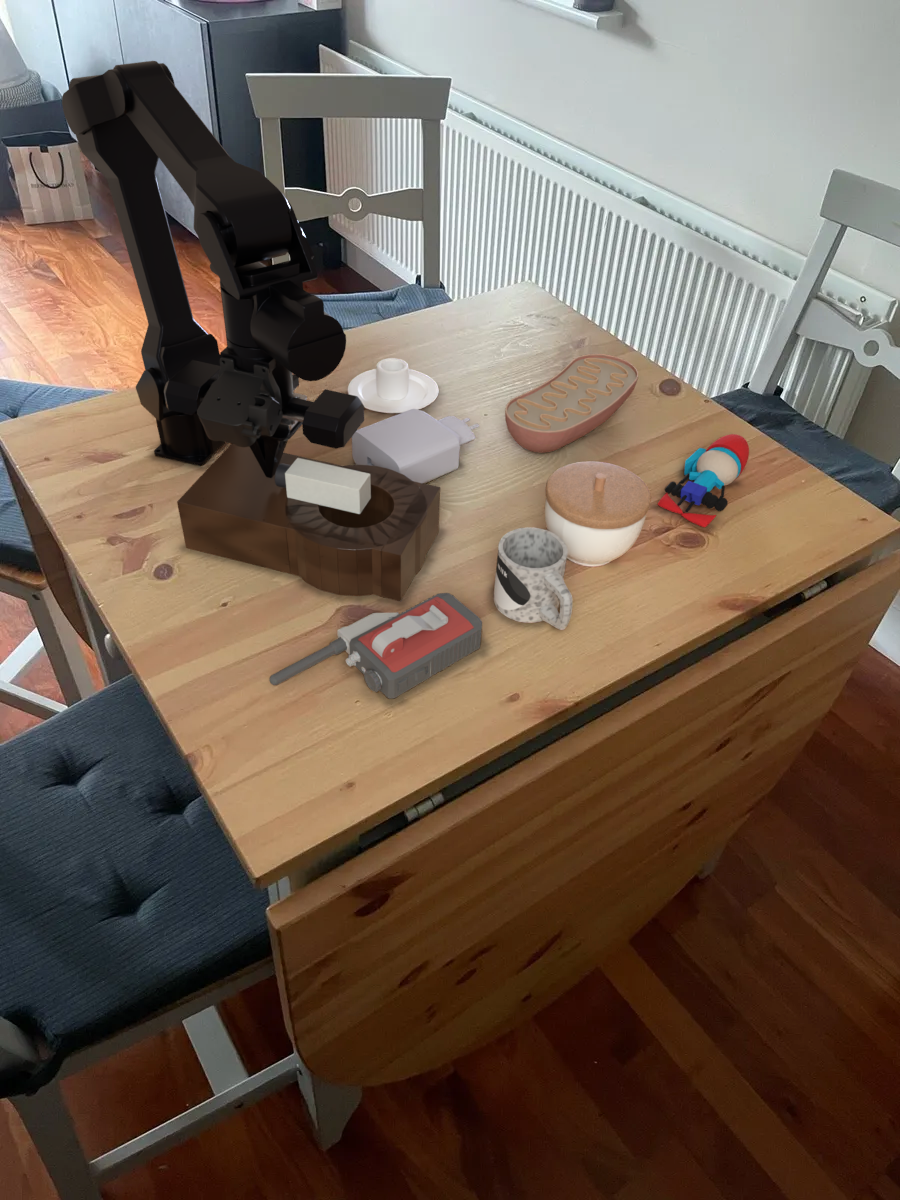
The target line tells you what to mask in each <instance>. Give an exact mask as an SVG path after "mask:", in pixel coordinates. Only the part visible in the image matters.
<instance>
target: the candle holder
mask: <svg viewBox="0 0 900 1200" xmlns="http://www.w3.org/2000/svg"><path fill="white" fill-rule="evenodd" d="M375 367H376V368H373V369H369V370H366V371H364V372H361V373H359V374H357V375H356V376H354V377H353V378H352V379H351V380H350V382H349V383H348V385H347V394H349V395H354V396H357V397H358V398H359V399H360V400H361V401H362V403H363V405H364V409H367V410H370V411H373V412H379V413H384V414H386V413H387V414H400V413H403V412H406V411H408V410H411V409H417V410H421V409H424V408H426V407H428V406H429V405H432V404H433V402H435V400H436V399H437V398H438V396H439V393H440V391H439V390H440V389H439V386H438V384H437V382H436V381H435V380H434V378H432V377H431V376H429V375H427V374H426V373H424V372H421V371H418V370H415V369H412V368H409V364H408V362H406V361H405V360H404V359H401V358H397V357H387V358H382V359H381V360H379V361H378V362H377V363H376V365H375Z"/></svg>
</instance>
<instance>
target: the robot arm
mask: <svg viewBox="0 0 900 1200" xmlns="http://www.w3.org/2000/svg"><path fill="white" fill-rule="evenodd" d="M61 104H62V110H63V114H64V117H65V118H64V119H65V121H66V123H67V126H68V128H69V129H70V130H71V132H72V133H73V134H74V135H75V138H76V140H77V144H78V145H79V148H80V151H81V153H82V154H83V155H84V156H85V157H86V159H88V161H89V162H90V163H91V164H92V165H93V166H94V167H95V168H96V169H97V170H98V171H99V172H100V173H101V174H102V175H103V177H104V178H105V179H106V182H107V185H108V188H109V192H110V195H111V198H112V201H113V205H114V209H115V213H116V216H117V219H118V223H119V226H120V230H121V233H122V236H123V239H124V244H125V247H126V251H127V255H128V257H129V261H130V264H131V268H132V271H133V275H134V278H135V282H136V285H137V289H138V293H139V296H140V299H141V302H142V306H143V309H144V314H145V316H146V320H147V328H146V332H145V335H144V339H143V342H142V346H141V350H140V354H141V358H142V362H143V367H144V371H143V372H142V374H141V376H140V378H139V380H138V381H137V383H136V385H135V390H136V393H137V396H138V399H139V402H140V405H141V406H142V407H143V408H144V409H145V410H146V411H147V412H148V413H150V414H151V416H152V417H154V418H155V421H156V426H157V431H158V436H159V445H158V446H157V447H156V448H154V450H153V454H154V456H155V457H160V458H164V459H169V460H172V461H175V462H181V463H186V464H189V465H190V464H191V465H193V466H199V467H200V466H203V465H205V464H206V463H207V462H208V461H209V460H210V459H211V458H212V457H213V456H214V455H215V454H216V453H217V452H218V450H219V449H220V448H221V447H222V446H223V445H224V444H225V443H228V444H230V445H231V444H235V445H236V446H239V447H250V448H251V450H252V452H253V454H254V456H255V458H256V459H257V461H258V463H259V465H260V467H261V469H262V470H263V472H264V474H265V476H266V477H268V478H272V477H273V476H274V475H275V473H276V470H277V467H278V466H279V463H280V460H281V458H282V455H283V453H285V450H286V447H287V444H288V441H289V440H291V439H292V437H293V436H294V435H295V434H296V433H297V431H298V430H299V429H300V428H302V435H303V436H304V438H306V440H308V442H309V443H311V444H314V445H319V446H322V447H327V448H332V449H334V450H335V449H336V450H337V449H342V448H344V447H345V446H346V445H347V444H348V443H349V441H350V440H351V439H352V436H353V435H354V433H355V432H356V431H357V430H358V429H360V428H361V426H362V425H363V423H364V422H365V408H364V405H363V403H362V401H361V400H360V399H359V398H358V397H357V396H354V395H349V394H348V393H344V392H340V391H336V390H332V389H331V390H330V389H326V388H325V389H324V390H323V391H322V392H321V393H320V394H319V395H318V396H317V398H316V399H315V400H314V401H311V400H309V399H308V397H307V395H306V394H303V393H298V392H294V391H295V390H296V389H298V387H299V386H300V380H302V381H304V382H305V381H307V382H317V381H321V380H323V379H325V378H326V377H328V376H329V375H331V374H332V373H333V372H334V371H335V370H336V369H337V367H338V366H339V365H340V363H341V361H342V360H343V358H344V356H345V351H346V349H347V348H346V347H347V334H346V333H345V330H344V329H343V325H341V323H340V322H339V320H338V319H336V318H335V317H333V316H332V315H330V313H327V312H326V311H325V302H324V300H323V299H322V298H320V297H319V296H317V295H315V294H313V293H309V292H308V291H307V290H305V289H304V283H306V282H310V281H314V280H317V279H318V277H319V276H318V271H317V269H316V266H315V264H314V261H313V259H314V257H315V254H314V251H313V249H312V247H311V246H310V243H309V241H308V239H307V237H306V235H305V233H304V231H303V228H302V226H301V225H300V223H299V220H298V218H297V216H296V213H295V211H294V208H293V206H292V204H291V203H290V201H289V200H288V199H287V198H286V196H285V195H284V194H283V192H282V191H281V190H280V189H279V188H278V187H277V186H276V185H275V184H274V183H273V182H272V181H271V180H270V179H269V178H268V177H266V175H264V174H263V173H262V172H261V171H260V170H257V169H254V168H252V167H250V166H247V165H244V164H241V163H238V162H237V161H235V160H234V159H233V158H232V157H231V156H230V155H229V153H227V151H226V150H225V149H224V148H225V147H223V146H222V145H221V143H220V142H219V140H218V139H217V138H216V137H215V136H214V134H213V133H212V132H211V130H210V129H209V127H207V125H206V124H205V123H204V121H203V120H202V119H201V117H200V116H199V115H198V114H197V112H196V111H195V110H194V108H193V107H192V106H191V104H190V102H188V101H187V99H186V98H185V96H184V95H182V93H181V92H180V90H179V89H178V88H177V87H176V84H175V80H174V78H173V75H172V72H171V70H170V68H169V67H168V66H167V65H166V63H164V62H158V61H157V60H148V61H139V62H138V61H137V62H131V63H130V62H129V63H123V64H115V66H114V67H113V68H110V69H108V70H106V71H105V72H104V73H102V74H97V75H89V76H79V77H72V79H70V80H69V85H68V89H67V90H65V92H64V93H63V94H62V96H61ZM159 160H160V161H161V163H162V164H163V166H164V167H165V168H166V169H167V171H168V172H169V174H170V175H171V176H172V177H173V179H174V180H175V182H176V183H177V184H178V185H179V187H180V189H182V191H183V192H184V193H185V194H186V196H187V198H188V199H189V201H190V203H191V205H192V206H193V210H194V211H193V230H194V232H195V234H196V236H197V238H198V241H199V244H200V246H201V248H202V250H203V252H204V254H205V255H206V257H207V259H208V261H209V262H210V264H209V269H210V271H211V272H212V273H213V274H214V275H216V276H218V278H219V287H220V288H219V289H220V297H221V305H222V313H223V320H224V322H223V323H224V330H225V339H226V340H225V341H226V347H225V348H223V349H222V350H221V351H220V350H219V349H220V348H219V344H218V340H217V339H216V338H215V336H214V335H213V334H212V333H208V332H207V330H205V329H204V328H203V327H202V326H201V325H200V324H199V322H198V321H196V320H195V318H194V316H193V312H192V308H191V303H190V300H189V297H188V293H187V288H186V286H185V281H184V278H183V275H182V274H183V273H182V269H181V265H180V263H179V259H178V254H177V250H176V247H175V244H174V240H173V236H172V232H171V228H170V224H169V220H168V217H167V213H166V210H165V206H164V202H163V198H162V194H161V191H160V186H159V182H158V178H157V174H156V170H157V166H158V162H159ZM287 254H288V256H289V257H290V260H286V261H282V262H278V263H274V264H269V265H266V264H264V263H262V261H266V260H270V259H274V258H279V257H283V256H286V255H287Z"/></svg>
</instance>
